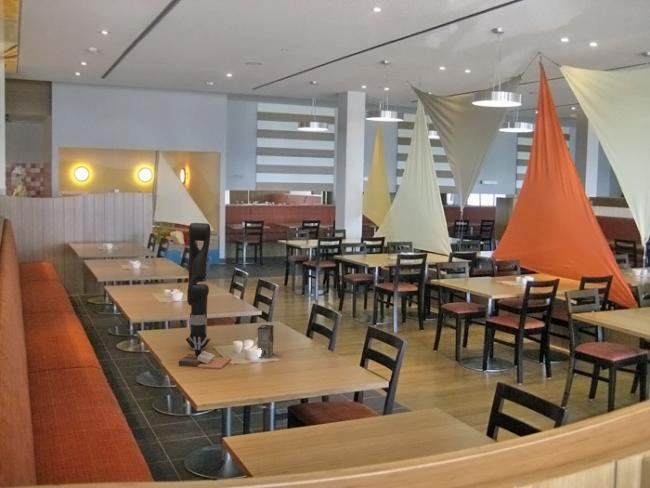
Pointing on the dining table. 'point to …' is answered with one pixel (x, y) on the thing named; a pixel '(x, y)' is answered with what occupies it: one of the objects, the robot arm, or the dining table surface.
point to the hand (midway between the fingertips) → (198, 356)
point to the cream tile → (206, 357)
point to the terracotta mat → (215, 363)
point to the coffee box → (265, 340)
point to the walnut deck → (190, 361)
